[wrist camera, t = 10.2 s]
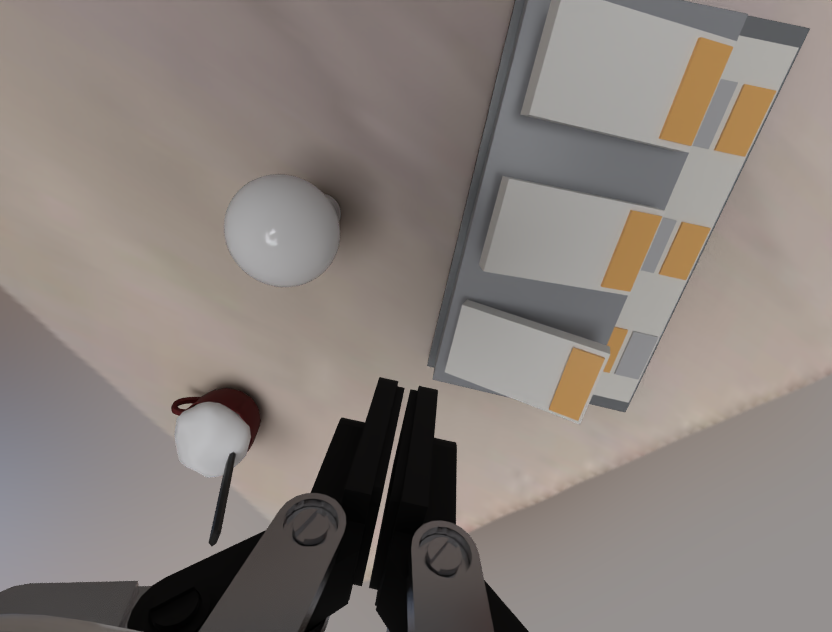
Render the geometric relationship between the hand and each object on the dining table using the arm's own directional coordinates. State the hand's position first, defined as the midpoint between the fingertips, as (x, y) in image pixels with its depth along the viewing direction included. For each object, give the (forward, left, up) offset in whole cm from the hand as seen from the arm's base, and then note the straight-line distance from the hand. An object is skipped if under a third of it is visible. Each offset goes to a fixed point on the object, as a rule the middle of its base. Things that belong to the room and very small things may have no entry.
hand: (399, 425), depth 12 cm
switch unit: (-4, +9, -22) cm, 24 cm away
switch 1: (-12, +7, -15) cm, 20 cm away
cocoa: (+19, -15, -22) cm, 33 cm away
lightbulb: (-1, -9, -22) cm, 24 cm away
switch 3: (+4, +7, -15) cm, 17 cm away
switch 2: (-4, +7, -15) cm, 17 cm away
